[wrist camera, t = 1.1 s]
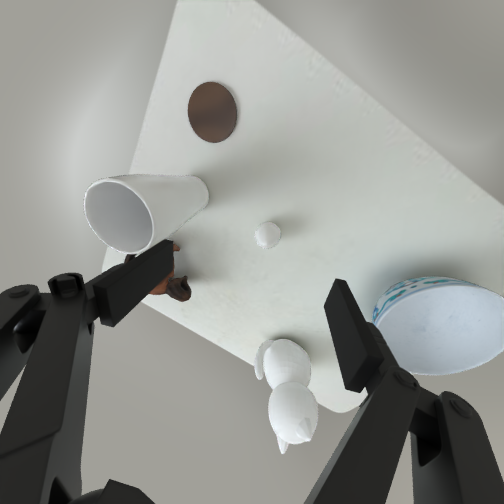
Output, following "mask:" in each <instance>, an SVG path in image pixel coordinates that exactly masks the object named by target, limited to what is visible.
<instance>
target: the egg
mask: <svg viewBox="0 0 504 504" xmlns="http://www.w3.org/2000/svg"><path fill="white" fill-rule="evenodd" d="M280 238H281V231H280V229H279V228H278V226H277V225H275V224H274V223H271V222H264V223H262V224H260V225H259V226H258V228H257V229H256V231H255V240H256V242H257V244H258V245H259V246H260V247H262V248H264V249H270V248H272V247H274V246H275V245H276V244H277V243H278V242H279V240H280Z"/></svg>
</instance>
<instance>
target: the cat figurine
mask: <svg viewBox="0 0 504 504" xmlns="http://www.w3.org/2000/svg"><path fill="white" fill-rule="evenodd" d="M263 363H264V369H265V374H266V379H267V381H268V384H269V385H270V386H271V388H272V389H273V391H272V394H271V395H270V399H269V405H268V410H269V411H268V412H269V419H270V423H271V426H272V428H273V430H274V432H275V433H276V435H277V439H278V444H279V448H280V451H281V453H282V454H284V453H285V452H286V450H287V447H288V445H289V443H291V444H300V443H303V442H305V441H311V439H312V435H313V433H314V431H315V429H316V426H317V422H318V406H317V402H316V399H315V397H314V395H313V393H312V392H311V391H310V390H309V389H308V388H307V386H308V384H309V382H310V378H311V361H310V358H309V355H308V354H307V353H306V352H305V350H304V349H303V348H301V347H300V346H299V345H298V344H296V343H295V342H293V341H290V340H288V339H278V340H276V341H273V340H267V341H265V342H263V343H262V344H261V345H260V347H259V349H258V351H257V353H256V357H255V365H254V366H255V374H256V376H257V378H258V379H259V380H261V379H262V378H263Z"/></svg>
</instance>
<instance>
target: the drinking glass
mask: <svg viewBox="0 0 504 504" xmlns="http://www.w3.org/2000/svg"><path fill="white" fill-rule="evenodd" d="M208 201H209V192H208V189H207V186H206V185H205V183H204V182H203V181H202V180H201V179H199V178H198V177H196V176H192V175H186V176H172V175H153V174H134V175H123V176H116V177H110V178H103V179H99V180H97V181H95V182H94V183H92V184H91V185H90V186H89V187H88V189H87V191H86V193H85V196H84V212H85V216H86V219H87V221H88V224H89V225H90V227H91V229H92V230H93V232H94V233H95V234H96V235H97V237H98V238H99V239H101V241H102V242H103V243H105V244H106V245H107V246H109V247H110V248H112V249H114V250H116V251H118V252H121V253H125V254H139V253H142V252H144V251H146V250H148V249H150V248H151V247H153V246H154V245H156V244H157V243H159V242H161V241H162V240H164V239H166V238H168V237H169V236H171V235H172V234H173V233H175V232H176V231H177V230H178V229H179V228H180V227H182V226H183V225H184V224H185V223H186V222H187V221H188V220H190V219H191V218H192V217H193V216H194V215H195V214H197V213H198V212H199V211H201V210H203V209H204V208H205V207H206V205H207V203H208Z"/></svg>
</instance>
